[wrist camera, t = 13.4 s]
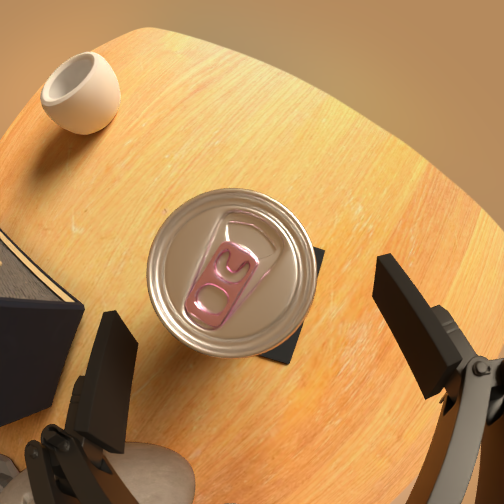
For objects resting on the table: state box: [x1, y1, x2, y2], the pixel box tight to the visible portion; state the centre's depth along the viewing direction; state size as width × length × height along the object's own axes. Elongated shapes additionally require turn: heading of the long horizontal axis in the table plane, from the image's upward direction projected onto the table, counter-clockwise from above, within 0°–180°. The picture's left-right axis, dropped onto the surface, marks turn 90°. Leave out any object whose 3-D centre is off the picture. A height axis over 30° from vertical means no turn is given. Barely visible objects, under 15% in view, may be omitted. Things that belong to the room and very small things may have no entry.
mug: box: [40, 52, 121, 135], centre depth 25 cm, size 12×8×8 cm
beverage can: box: [147, 188, 317, 359], centre depth 17 cm, size 6×6×15 cm
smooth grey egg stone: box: [0, 442, 195, 504], centre depth 12 cm, size 18×7×19 cm, turn 112°
